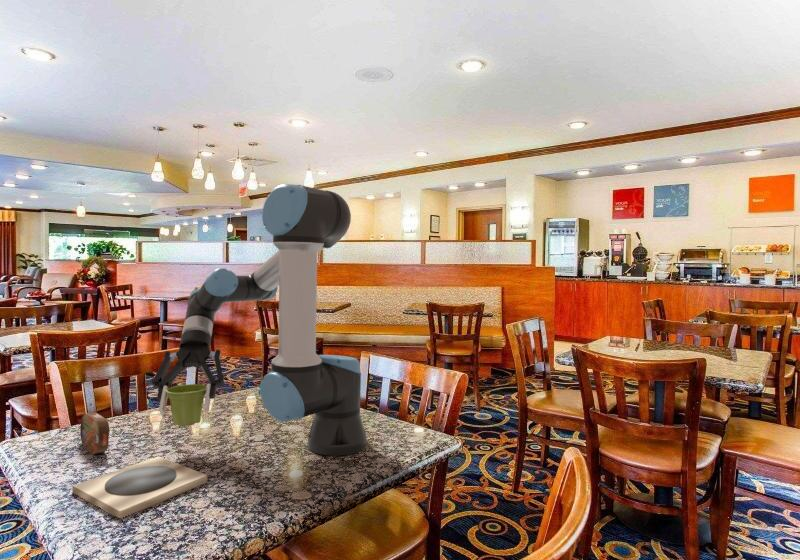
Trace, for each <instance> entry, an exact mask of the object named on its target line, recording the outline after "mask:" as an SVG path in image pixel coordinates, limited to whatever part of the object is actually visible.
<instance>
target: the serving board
mask: <svg viewBox="0 0 800 560" xmlns="http://www.w3.org/2000/svg"><path fill="white" fill-rule="evenodd" d="M207 483H208V474H205V473H202V472H200V471H197V470H194V469H192V468H189V467H187V466H184V465H182V464H179V463H177V462H174V461H173V460H169V459H167V458H165V457H161V456H160V455H158V456H156V457H153V458H150V459H147V460H144V461H141V462H137V463H134V464H132V465H128V466H126V467H123V468H120V469H117V470H114V471H112V472H109V473H105V474H102V475H100V476H96V477H94V478H90V479H87V480H85V481H82V482H79V483H76V484H72V486H71V488H72V489H71V490H72V491H71V492H72V494H73V493H74V494H73V495H75V494H76V496H77V495H78V496H77V497H79V498H81V499H82V498H83V500H84V499H85V500H84V501H86V502H88V501H89V502H88V503H89V504H91V503H92V504H91V505H93V504H94V505H93V506H95V505H96V506H95V507H97V506H98V507H100V508H101V509H100V508H99V509H100V510H102V509H103V510H102V511H104V510H105V511H104V512H106V511H107V512H109V513H111V514H112V515H111V514H110V515H111V516H113V515H114V516H113V517H115V516H116V517H118V518H122V519H124V518H126V517H125V516H127V517H129V516H131V514H132V515H133V513H134V514H136V513H138V511H139V512H140V511H144V510H146V509H148V508H150V507H152V506H155V505H157V504H159V503H161V502H164V501H166V500H170V499H171V498H174V497H176V496H178V495H180V494H183V493H185V492H187V491H190V490H193V489H194V488H197V487H200V486H202V485H204V484H207ZM98 507H97V508H98ZM107 512H106V513H107ZM135 512H136V513H135ZM109 513H108V514H109ZM128 515H129V516H128ZM116 517H115V518H116ZM123 517H124V518H123ZM118 518H117V519H118Z"/></svg>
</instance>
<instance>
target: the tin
mask: <svg viewBox="0 0 800 560" xmlns="http://www.w3.org/2000/svg"><path fill="white" fill-rule="evenodd" d="M79 433H80V441H81V442H80V443H81V445H82V446H83V448H84V449H86V451H88V452H89V453H90V454H91V455H96V454H102V453H105V452H106V451H107V450H108V449H109V440H110V439H109V438H110V425H109V422H108V420H107V418H105V417H104V416H102V415H101V414H100V413H98V412H89V413H88V412H87V413H86V412H85V413H84V414H83V415H82V417H81V419H80V431H79Z"/></svg>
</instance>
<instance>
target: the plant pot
mask: <svg viewBox="0 0 800 560" xmlns="http://www.w3.org/2000/svg"><path fill="white" fill-rule="evenodd" d="M206 389H207V385H206V384H199V383H198V384H196V383H195V384H193V383H191V384H189V383H188V384H180V385H176V386H170V387H168V389H166V393H167V394H168V400H169V404H170V411H171V417H172V422H173V423H172V424H173V425H174V426H178V427H190V426H193V425H195V424H199V423H201V419H202V412H203V406H204V405H203V403H204V399H205V396H206Z"/></svg>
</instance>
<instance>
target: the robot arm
mask: <svg viewBox="0 0 800 560" xmlns="http://www.w3.org/2000/svg"><path fill="white" fill-rule="evenodd" d="M261 217H262V218H261V219H262V224H263V226H265V227H264V228H265V230H266V232H268V233H269V234H270V235H272V244H273V245H274V247H276V248H277V249H278V250H277V251H276V252H275V253H273V254H272V255H271V257H269V258H268V259H267V260H266V261H265V262H264V263H263V264H261V265H260V266H259V267H258V268H257V269H256V270H255V271H253V272H252V273H251V274H249V275H237V274H236V273H235V272H233V271H232V270H231V269H229V270H228V269H227V268H226V267H220V268H215V269H214V270H213V271H212V272H211V274H209V276H207V277H206V279H205V281H204V282H203V284H202V285H201V286H200V287H198V288H196V289H193V290H192V291H191V293H189V298H188V299H187V303H186V304H187V307H186V311H185V315H184V317H185V318H184V323H183V327H182V333H181V338H180V343H179V349H178V350H177V351H176V352H170V351H168V350H167V351H165V352H164V355H163V356H164V357H163V358H164V359H163V360H162V362H161V364H160V366H159V368H158V370H157V372H156V374H155V375H154V377H153V378H152V380H151V384H152V387H153V389H155V390H158V392H157V395H156V398H157V400H158V402H159V406H158V411H159V413H160V416H165V415H166V414H165V413H166V408H167V403H168V400H169V398H168V394H167V393H166V389H168V388H170V385H171V384H172V383H173V382H174V381H175V380H176V378H177V377H179V375H180V373H181V372H183V371H185V369H186V368H187V369H188V368H200V369H201V370H202V372H203V373H204V375H205V377H206V379H207V381H208V383H207V385H206V386H207V389H206V391H205V395H204V402H203V403H204V405H203V409H204V412H205V413H209V412H210V405H211V400H214V399H215V398H216V394H217V393H216V392H217V388H218V387H223V386H224V385H225V380H224V375H223V370H222V365H221V360H222V359H221V358H222V353H221V350H220V349H217V350H215V351H211V350H210V349H211V340H212V336H213V328H214V320H215V315H216V314H217V312H218V311H219V310H220V309H221V308H222V306H223V305H224V304H225V303H234V302H235V303H237V302H239V303H240V302H251V301H253V302H255V301H256V302H257V301H259V302H263V301H266V300H267V301H268V300H271V299H273V298H275V296H276V293H277V292H278V291H279V293H278V349H277V350H278V351H277V353H278V354H277V355H276V356H275V357H274V358H273V359H272V360H271V371H270V372H268V373H267V374H265V375H264V376H263V379H261V382H260V384H261V385H260V384H259V385H260V388H259V390H260V393H261V394H260V397H261V401H262V404H263V407H264V409H265V410H267V413H268V414H269V416H271V417H272V418H273V419H274V420H276V421H278V422H282V423H288V422H291V421H298V420H301V419H303V418H306V417H309V416H312V415H314V417H313V420H312V423H311V425H310V430H309V432H308V436H307V449H308V450H309V451H311V452H313V453H315V454H317V455H322V456H329V457H330V456H332V457H336V456H339V457H340V456H345V455H346V456H347V455H351V454H356V453H358V452H360V451H362V450H364V449H366V447H367V433H366V431H365V428H364V424H363V421H362V418H361V387H362V386H361V384H362V383H361V382H362V381H361V379H362V378H361V377H362V372H361V371H362V370H361V363H360V361H359V359H357V358H356V357H352V356H345V355H340V354H339V355H335V354H317V296H318V295H317V294H318V293H317V291H318V290H317V288H318V287H317V286H318V284H317V283H318V254H319V253H320V252H321V251H322V250H324V249H327V250H328V249H331V248H332V247H333V246H335V245H336V244H337V243H338V242H339V241H340V240H341V239H342V238H344V237H345V235H346V233H347V232H348V230H349V228H350V225H351V221H352V214H351V209H350V206H349V204H348V203H347V201H346V200H345V199H344V198H343V197H342V196H341V195H339V194H338V193H336V192H333V191H331V190H323V189H318V188H315V187H310V186H305V185H301V184H288V183H286V184H285V183H284V184H280V185H278V186H275V188H273V189H272V190H271V191H270V193H269V194H268V195H267V197H266V199H265V201H264V203H263V206H262V215H261ZM278 287H279V288H278ZM209 358H211V359H212V361H214V365H215V370H216V373H217V378H215V377H214V375H213V373H212V371H211V369H210V368H209V366H208V364H207V362H206V361H208V360H209ZM175 359H177V361H176V362H175V364H174V365H173V367H172V368H171V369H170V367H171V364H172V362H174V360H175ZM169 369H170V370H169ZM168 371H169V372H168Z"/></svg>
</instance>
